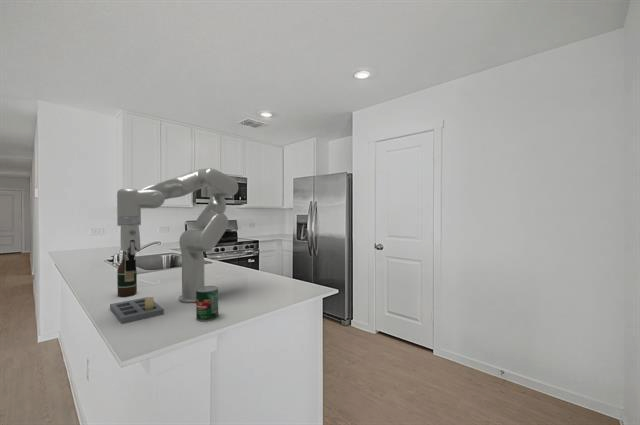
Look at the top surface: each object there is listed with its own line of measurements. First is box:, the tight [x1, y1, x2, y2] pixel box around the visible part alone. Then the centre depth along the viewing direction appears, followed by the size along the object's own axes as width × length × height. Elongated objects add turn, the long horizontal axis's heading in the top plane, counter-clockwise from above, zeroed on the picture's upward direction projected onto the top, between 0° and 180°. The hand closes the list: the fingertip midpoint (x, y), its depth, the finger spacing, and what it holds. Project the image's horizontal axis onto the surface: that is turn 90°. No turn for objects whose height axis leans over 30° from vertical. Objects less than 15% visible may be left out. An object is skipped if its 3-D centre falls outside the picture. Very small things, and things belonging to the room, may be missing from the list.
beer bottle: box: [116, 251, 138, 298], centre depth 142 cm, size 8×8×24 cm
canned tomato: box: [195, 285, 219, 322], centre depth 113 cm, size 8×8×11 cm
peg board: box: [109, 296, 165, 325], centre depth 119 cm, size 22×14×6 cm, turn 44°
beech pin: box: [125, 254, 134, 282], centre depth 113 cm, size 3×3×10 cm
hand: (129, 269), depth 113 cm, fingers closed on beech pin, 3 cm apart
